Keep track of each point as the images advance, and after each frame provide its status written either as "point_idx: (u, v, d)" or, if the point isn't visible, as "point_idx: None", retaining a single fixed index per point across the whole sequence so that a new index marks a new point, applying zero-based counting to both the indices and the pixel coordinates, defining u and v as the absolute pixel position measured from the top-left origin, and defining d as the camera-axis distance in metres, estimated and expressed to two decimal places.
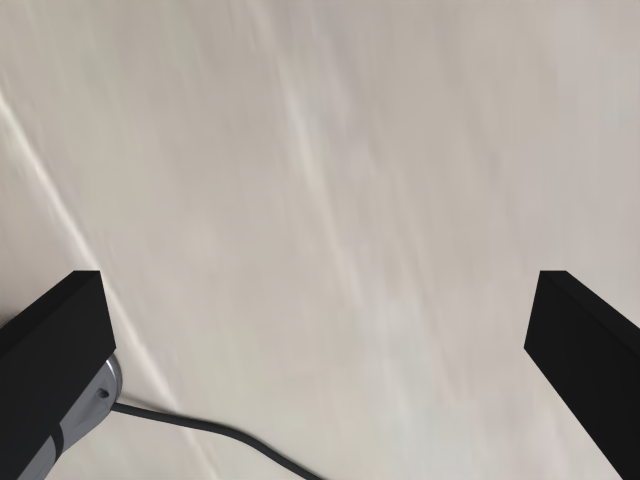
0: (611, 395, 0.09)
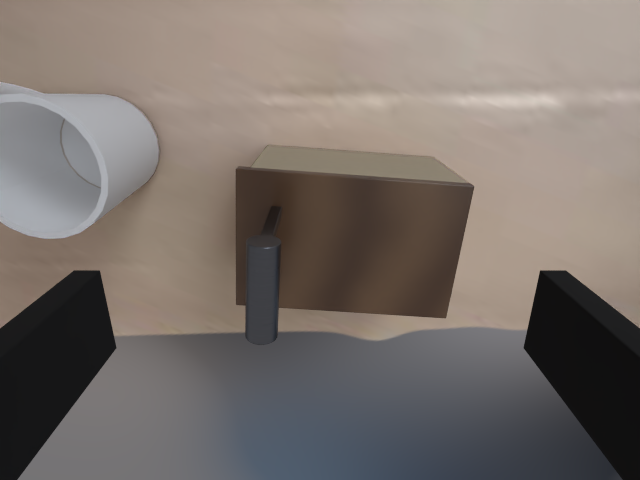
0: (611, 395, 0.09)
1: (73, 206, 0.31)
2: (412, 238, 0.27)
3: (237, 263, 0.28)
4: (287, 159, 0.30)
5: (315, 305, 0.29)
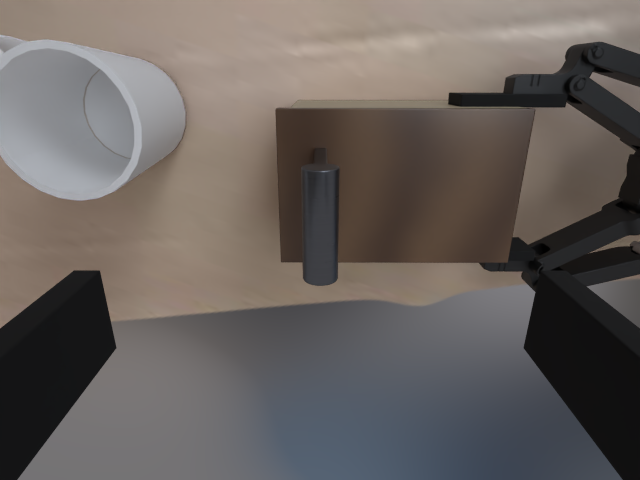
0: (611, 395, 0.09)
1: (103, 172, 0.29)
2: (468, 174, 0.25)
3: (281, 215, 0.26)
4: (325, 104, 0.28)
5: (365, 257, 0.27)
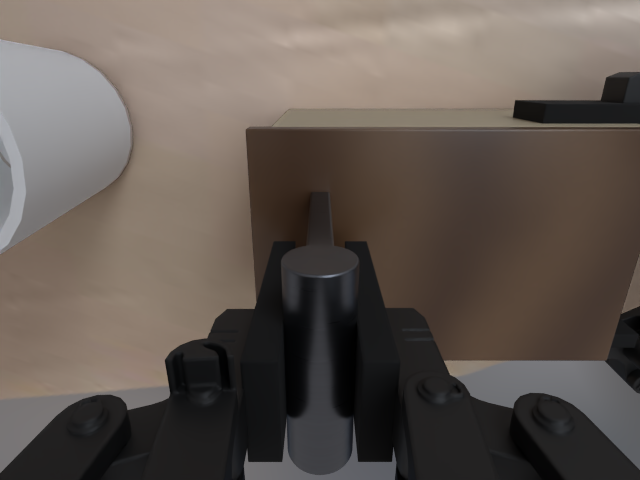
0: None
1: None
2: (558, 232, 0.16)
3: (258, 293, 0.17)
4: (327, 118, 0.18)
5: None
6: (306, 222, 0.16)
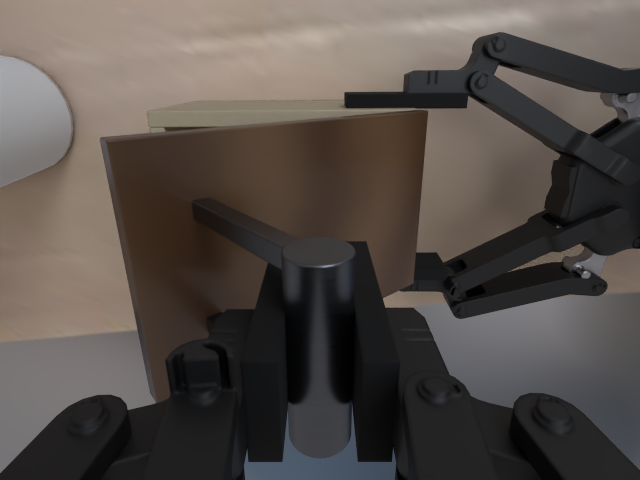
0: None
1: None
2: (379, 196, 0.20)
3: (146, 330, 0.14)
4: (203, 106, 0.25)
5: None
6: (190, 234, 0.14)
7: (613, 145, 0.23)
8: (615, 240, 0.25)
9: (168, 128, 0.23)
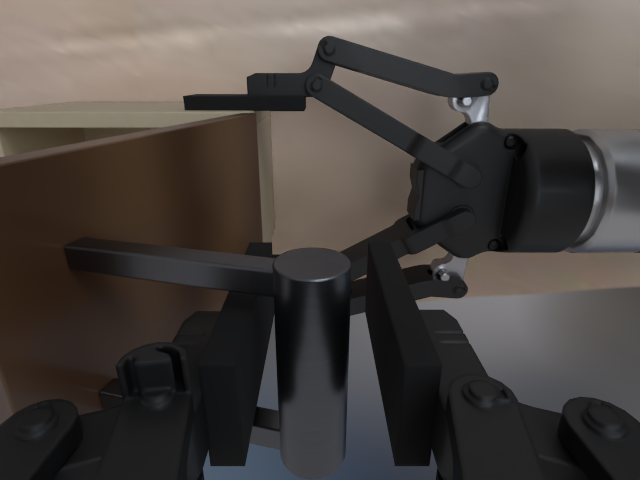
0: (380, 337, 0.11)
1: None
2: (233, 203, 0.19)
3: None
4: (54, 107, 0.25)
5: None
6: (67, 291, 0.11)
7: (455, 149, 0.24)
8: (470, 243, 0.26)
9: (5, 129, 0.22)
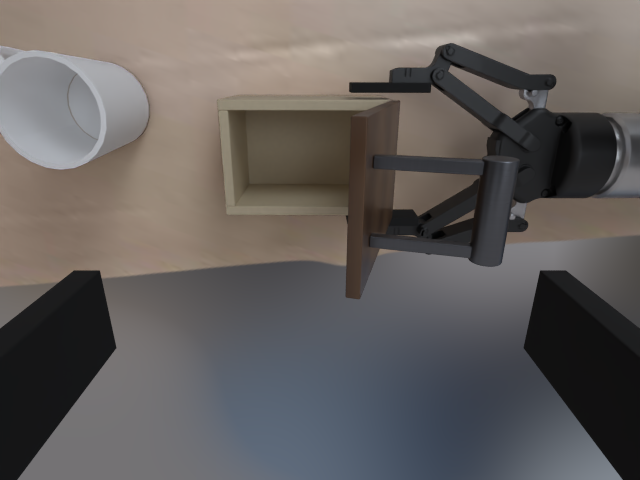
0: (610, 395, 0.09)
1: (81, 151, 0.38)
2: None
3: (362, 244, 0.22)
4: None
5: (375, 254, 0.28)
6: (371, 178, 0.23)
7: (523, 125, 0.35)
8: (529, 191, 0.37)
9: (229, 111, 0.34)
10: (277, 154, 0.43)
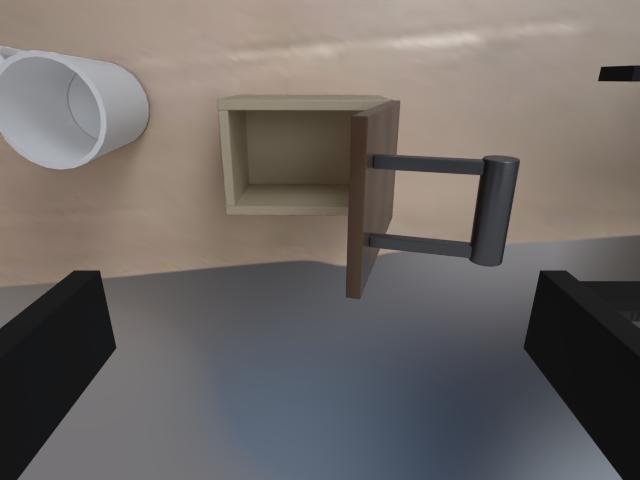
0: (610, 395, 0.09)
1: (81, 151, 0.38)
2: None
3: (362, 244, 0.22)
4: None
5: (375, 254, 0.28)
6: (371, 178, 0.23)
7: None
8: None
9: (229, 111, 0.34)
10: (277, 154, 0.43)
